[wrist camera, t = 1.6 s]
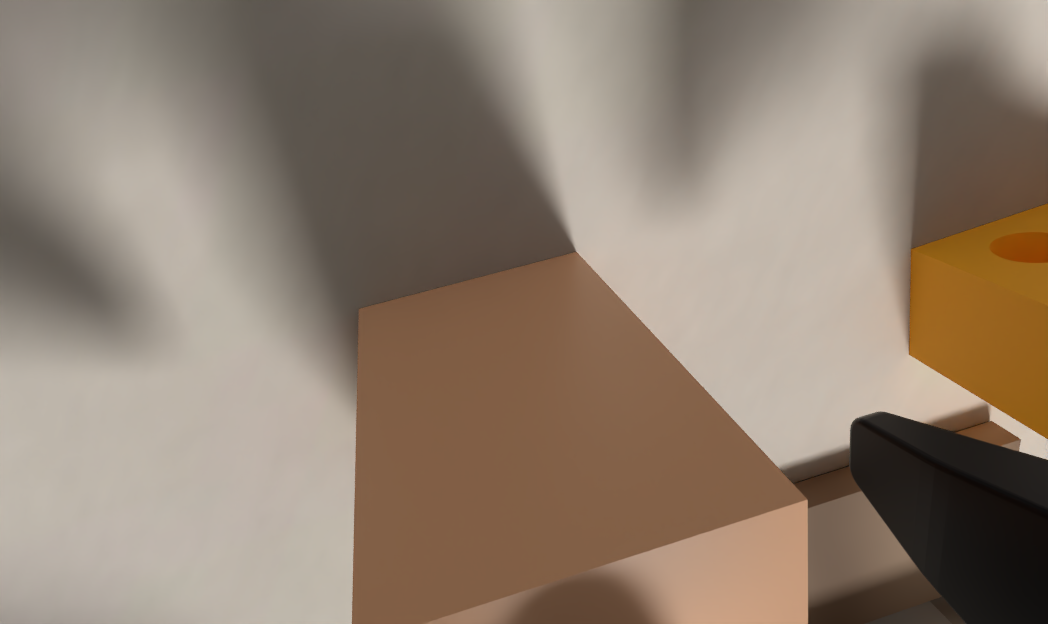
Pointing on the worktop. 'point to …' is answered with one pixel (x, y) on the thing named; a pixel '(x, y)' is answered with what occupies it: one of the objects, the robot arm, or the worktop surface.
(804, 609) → the connector
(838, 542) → the end holder
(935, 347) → the pipe clamp
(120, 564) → the worktop surface
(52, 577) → the worktop surface
